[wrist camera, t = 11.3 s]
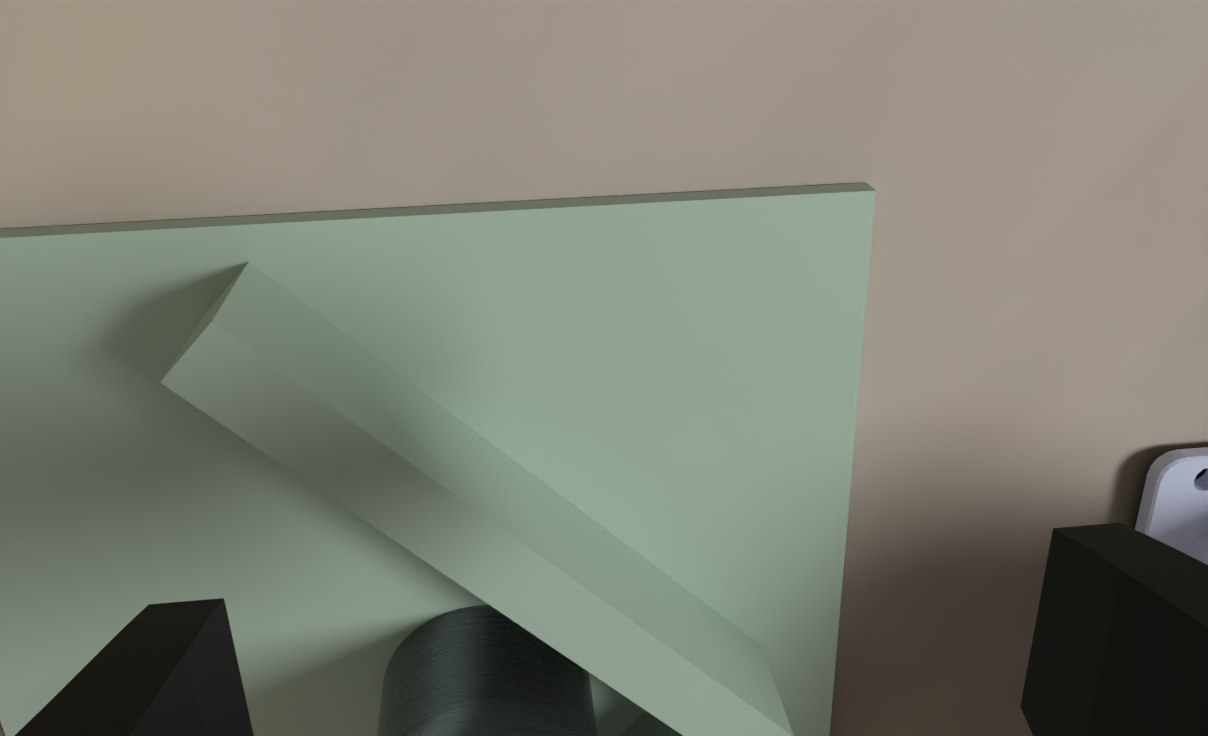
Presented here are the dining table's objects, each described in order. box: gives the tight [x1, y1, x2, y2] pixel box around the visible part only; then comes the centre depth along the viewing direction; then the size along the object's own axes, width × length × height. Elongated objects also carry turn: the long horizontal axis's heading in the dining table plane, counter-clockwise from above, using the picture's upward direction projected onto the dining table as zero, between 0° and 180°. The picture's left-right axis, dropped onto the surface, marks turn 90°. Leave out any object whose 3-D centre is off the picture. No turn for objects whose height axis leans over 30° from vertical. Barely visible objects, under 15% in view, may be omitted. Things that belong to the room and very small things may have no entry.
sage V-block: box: [0, 183, 876, 736], centre depth 19 cm, size 16×19×3 cm
